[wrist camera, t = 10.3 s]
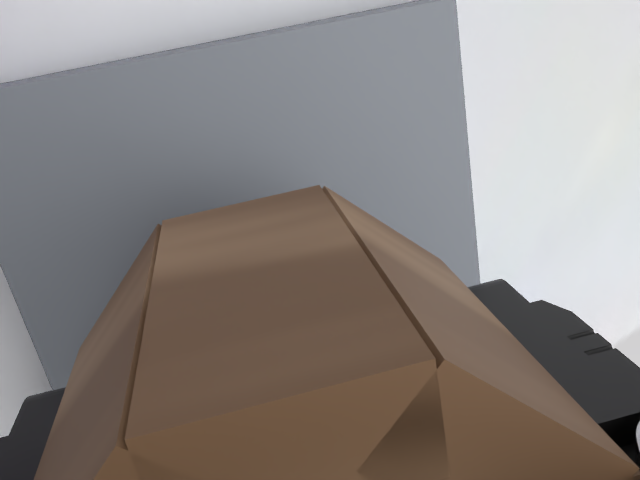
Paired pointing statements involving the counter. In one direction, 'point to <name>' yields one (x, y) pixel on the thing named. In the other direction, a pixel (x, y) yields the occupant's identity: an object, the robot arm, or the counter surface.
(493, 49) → the counter surface
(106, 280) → the rod stand
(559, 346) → the robot arm
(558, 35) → the counter surface
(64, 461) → the bead
